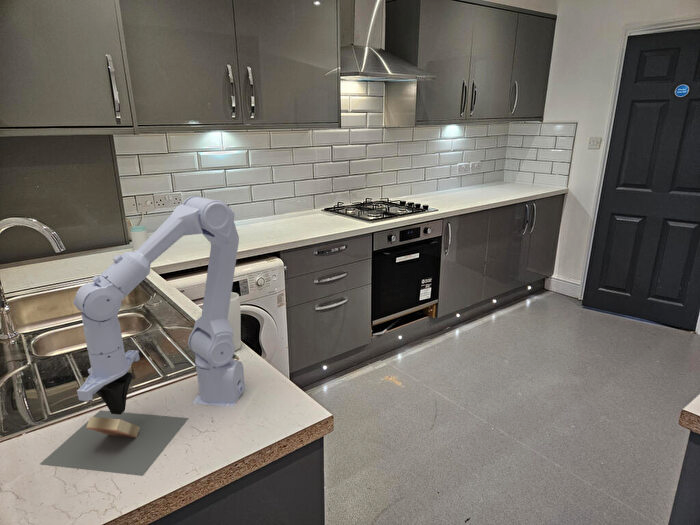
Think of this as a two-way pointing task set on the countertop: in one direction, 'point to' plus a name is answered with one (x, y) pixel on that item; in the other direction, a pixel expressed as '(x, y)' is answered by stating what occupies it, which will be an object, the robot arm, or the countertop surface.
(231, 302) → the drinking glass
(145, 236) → the can
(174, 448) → the countertop surface
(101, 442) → the mat
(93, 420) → the tile
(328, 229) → the countertop surface
